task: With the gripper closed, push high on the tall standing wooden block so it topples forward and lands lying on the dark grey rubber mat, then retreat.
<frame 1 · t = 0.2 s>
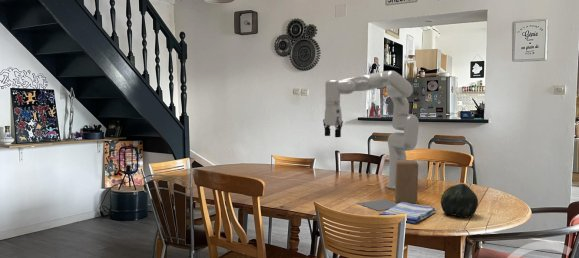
hand: (332, 136, 226), 31 cm above the table, tool pointing down, fingers open, 9 cm apart
dish towel: (407, 215, 186), on the table, touching mat
mat: (381, 205, 205), on the table
wooden block: (405, 201, 212), on the table, touching mat
squash: (459, 215, 187), on the table
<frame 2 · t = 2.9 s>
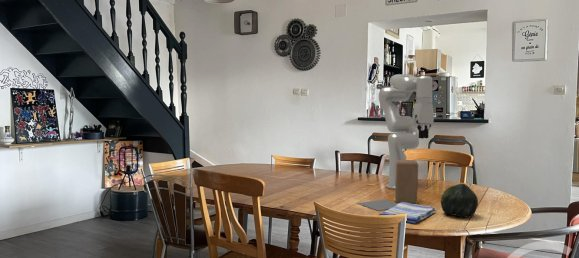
hand: (423, 137, 215), 31 cm above the table, tool pointing down, fingers closed
nothing on the table moved.
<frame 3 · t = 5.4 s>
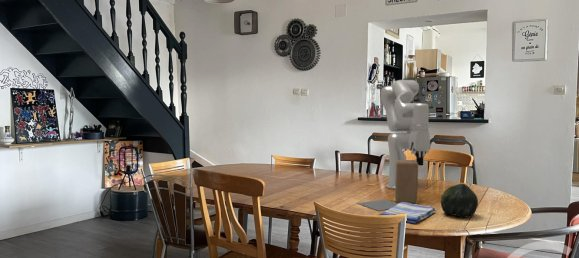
hand: (419, 165, 215), 18 cm above the table, tool pointing down, fingers closed
wooden block: (405, 201, 212), on the table, touching gripper, mat
everything else where it was.
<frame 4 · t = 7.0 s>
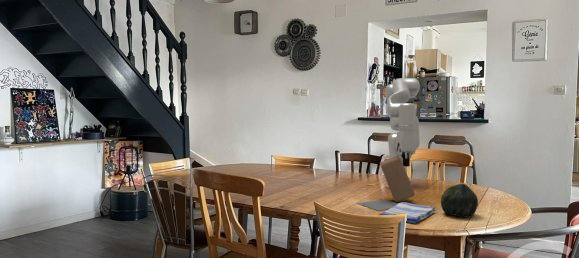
hand: (406, 166, 211), 18 cm above the table, tool pointing down, fingers closed
wooden block: (404, 198, 212), point 2 cm above the table, touching mat
everything else where it was.
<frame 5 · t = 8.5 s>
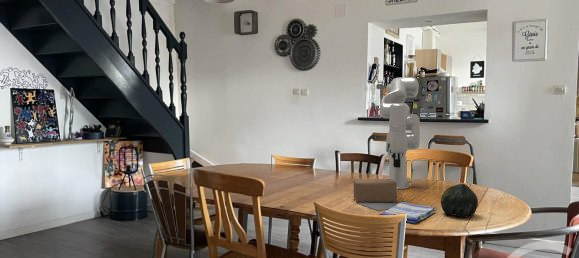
hand: (396, 167, 208), 18 cm above the table, tool pointing down, fingers closed
wooden block: (395, 190, 213), point 5 cm above the table, touching mat
everything else where it was.
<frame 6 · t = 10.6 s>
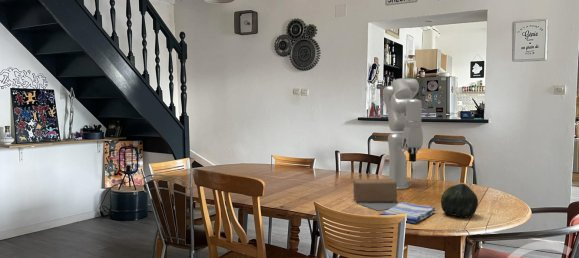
hand: (412, 161, 214), 20 cm above the table, tool pointing down, fingers closed
nothing on the table moved.
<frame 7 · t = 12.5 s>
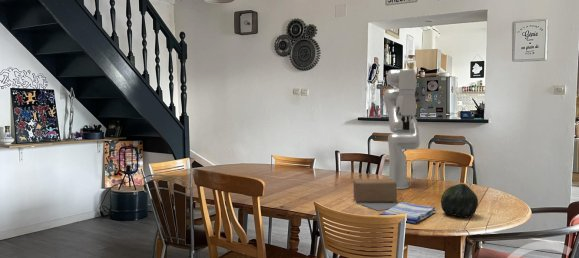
hand: (405, 129, 217), 35 cm above the table, tool pointing down, fingers closed
nothing on the table moved.
at the end: wooden block tilted 91°; wooden block 12.1 cm from the mat (horizontally) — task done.
